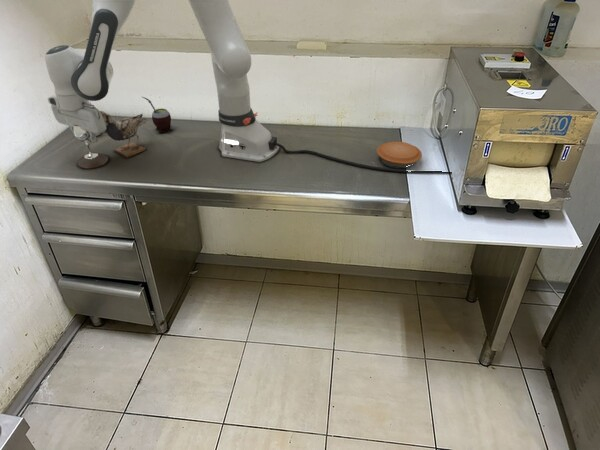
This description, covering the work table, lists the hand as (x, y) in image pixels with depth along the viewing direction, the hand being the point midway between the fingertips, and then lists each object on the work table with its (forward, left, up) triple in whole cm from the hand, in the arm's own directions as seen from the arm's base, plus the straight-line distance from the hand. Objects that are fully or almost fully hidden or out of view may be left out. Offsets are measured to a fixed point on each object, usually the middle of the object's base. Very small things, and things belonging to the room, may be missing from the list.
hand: (86, 139), depth 148 cm
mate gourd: (-4, -31, -9) cm, 32 cm away
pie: (-94, -51, -9) cm, 107 cm away
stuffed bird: (-5, -12, -9) cm, 16 cm away
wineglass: (0, 0, -6) cm, 6 cm away
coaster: (0, 0, -9) cm, 9 cm away
